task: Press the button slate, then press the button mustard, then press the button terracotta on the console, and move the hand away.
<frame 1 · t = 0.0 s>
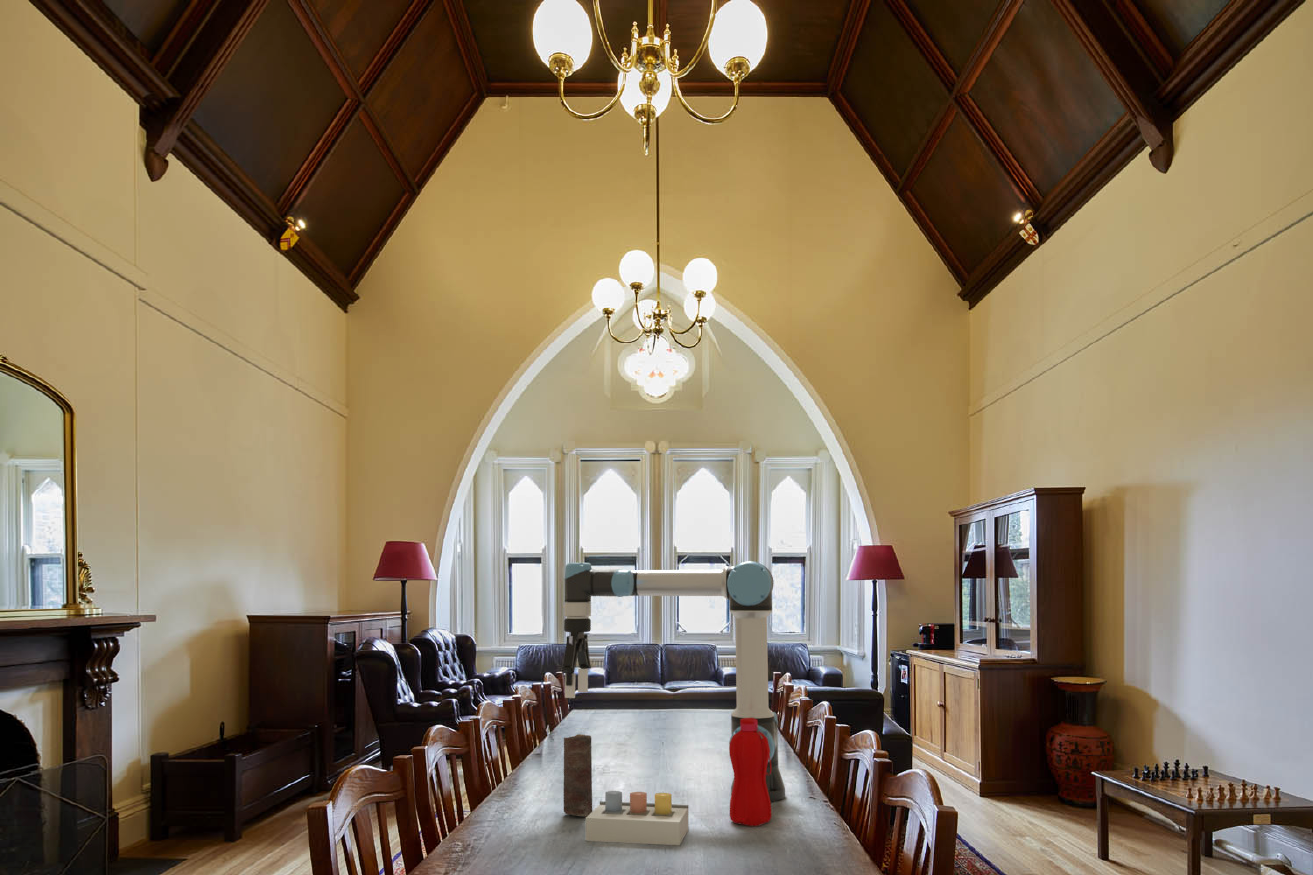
hand: (576, 694, 256), 28 cm above the table, tool pointing down, fingers open, 13 cm apart
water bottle: (753, 823, 228), on the table
button terracotta: (638, 802, 218), point 7 cm above the table, slide at 0.0 cm
brown rounded bar: (577, 816, 235), on the table
button slate: (613, 801, 219), point 7 cm above the table, slide at 0.0 cm
console: (638, 834, 217), on the table
button mustard: (663, 803, 217), point 7 cm above the table, slide at 0.0 cm
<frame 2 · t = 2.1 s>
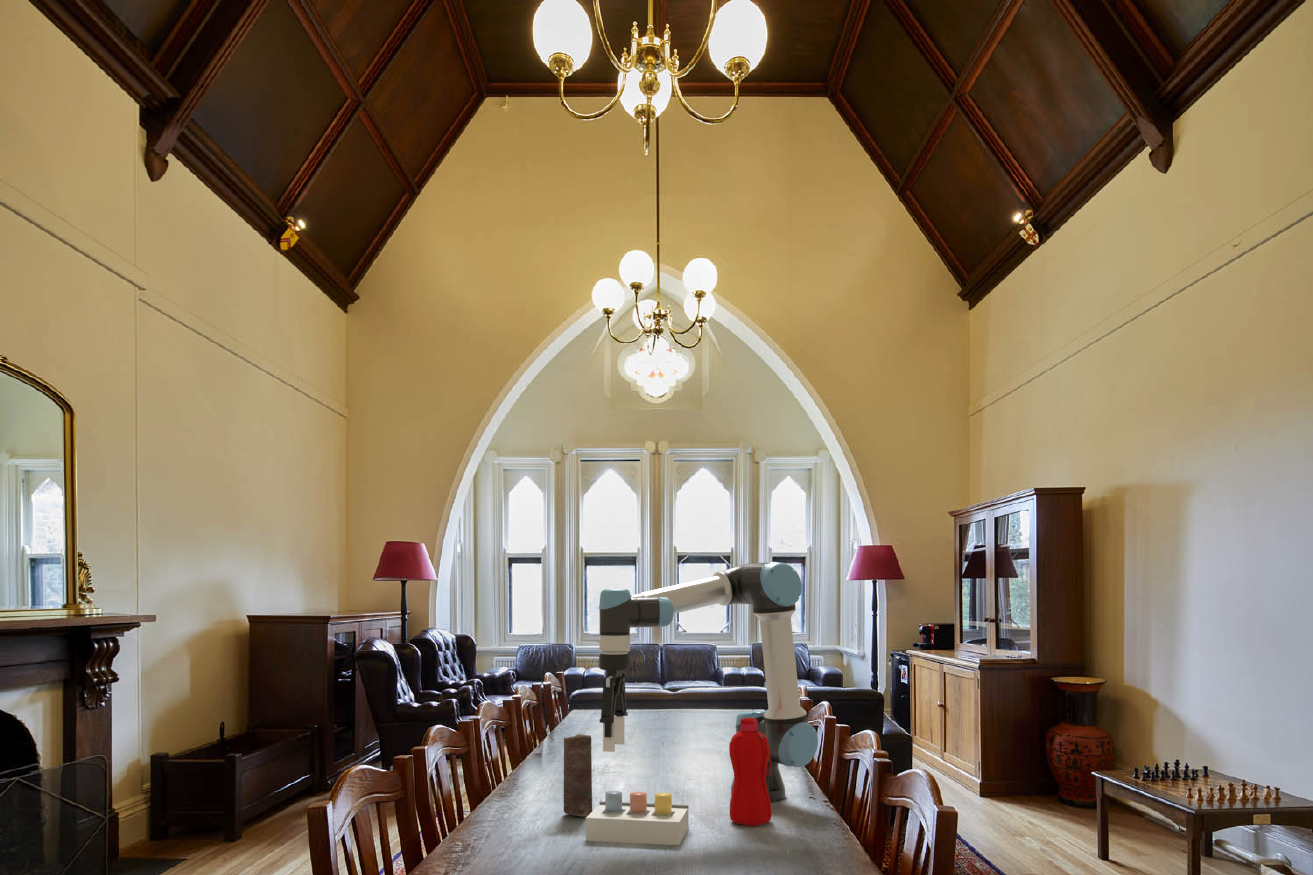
hand: (613, 747, 221), 20 cm above the table, tool pointing down, fingers open, 10 cm apart
nothing on the table moved.
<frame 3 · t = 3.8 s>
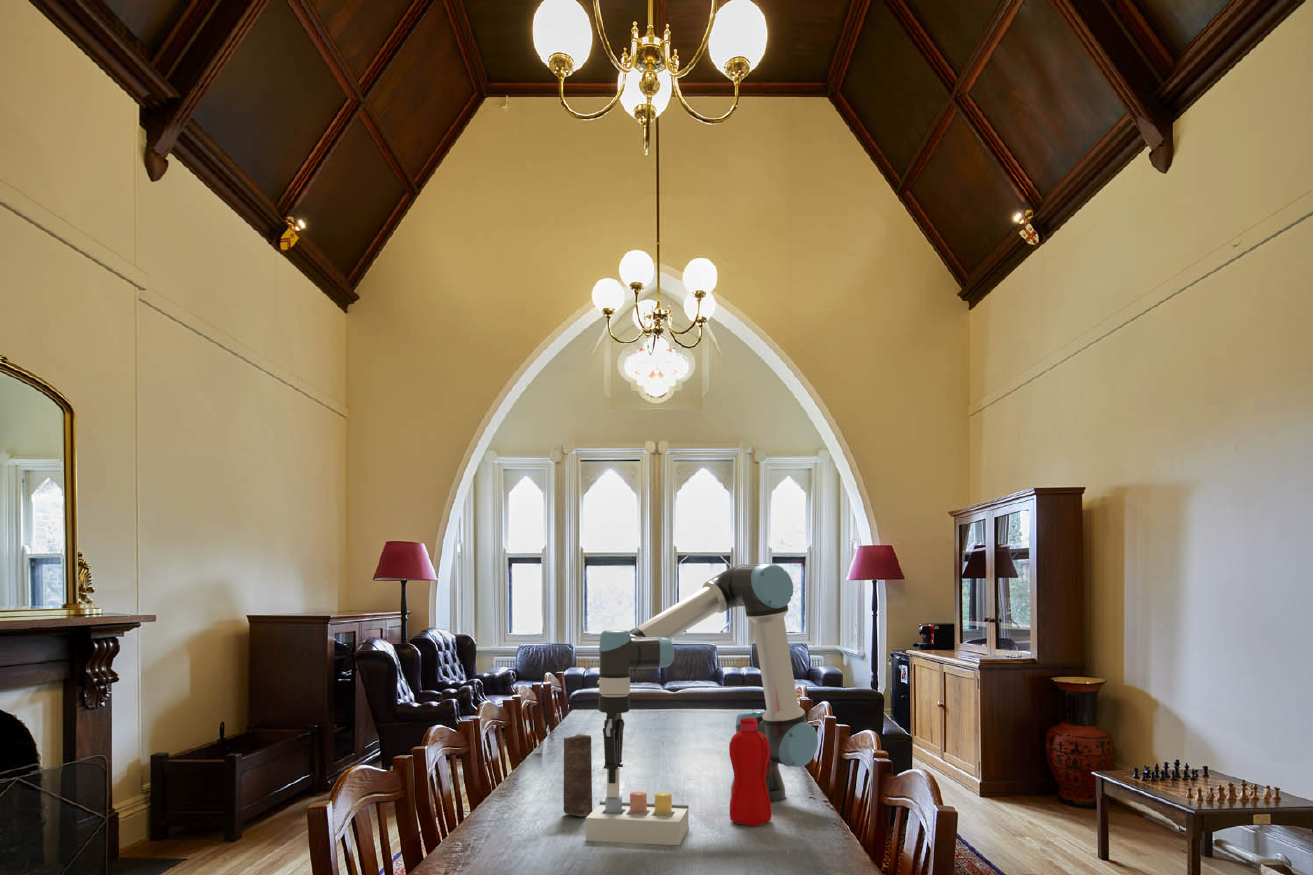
hand: (613, 796, 219), 8 cm above the table, tool pointing down, fingers closed
button slate: (613, 806, 219), point 6 cm above the table, slide at 1.2 cm, touching gripper
everything else where it was.
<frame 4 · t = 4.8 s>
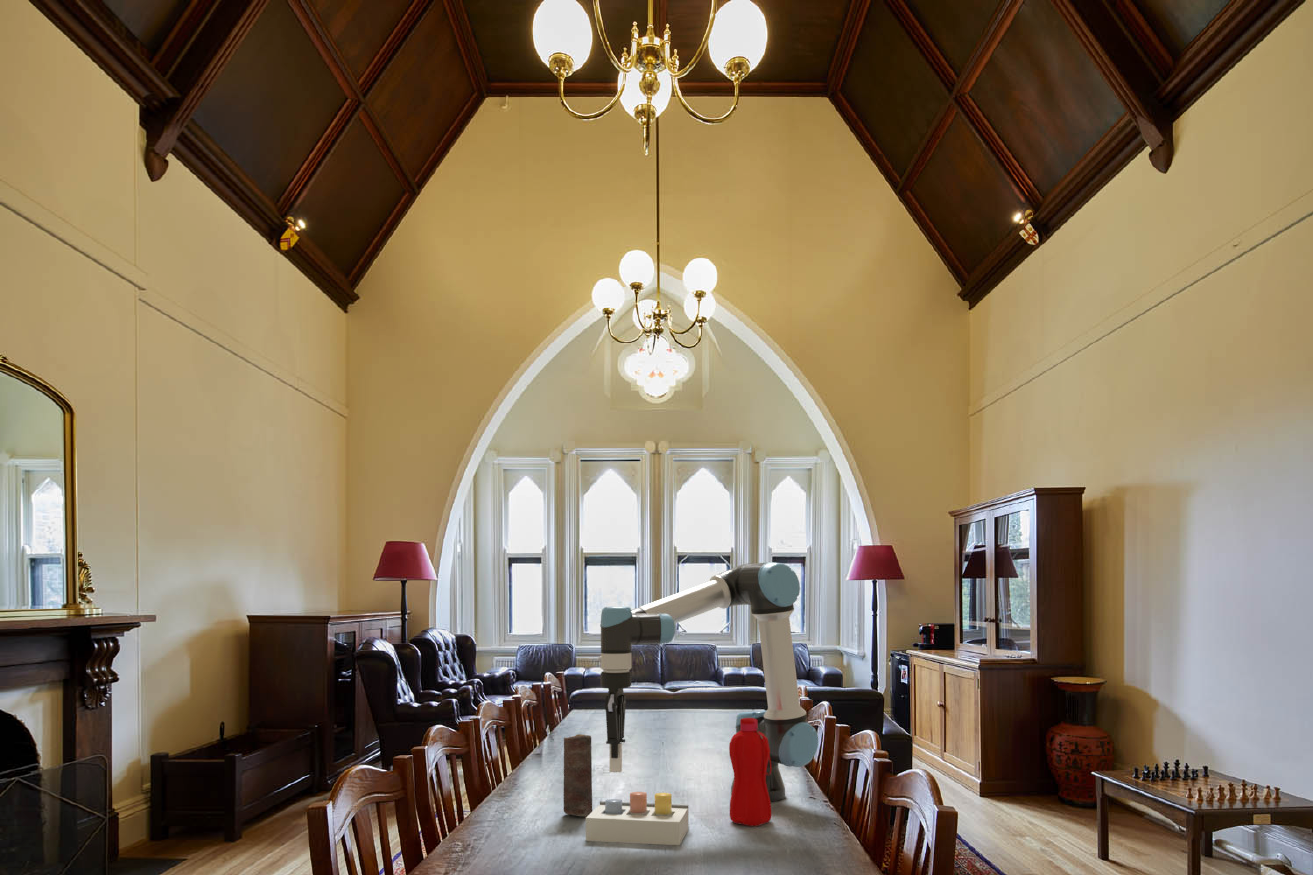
hand: (615, 771, 220), 14 cm above the table, tool pointing down, fingers closed
button slate: (613, 809, 219), point 5 cm above the table, slide at 1.9 cm
everything else where it was.
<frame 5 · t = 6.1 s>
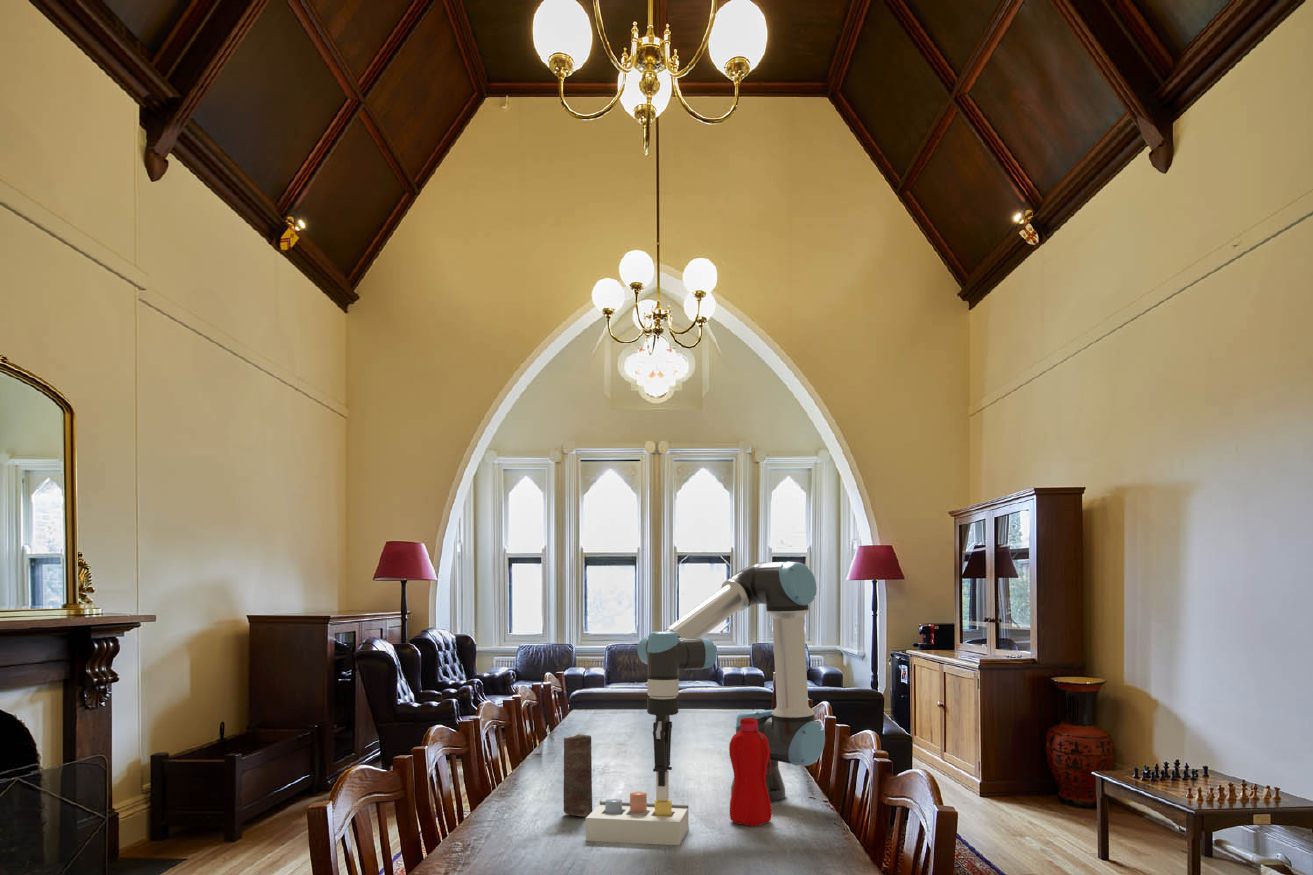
hand: (662, 799, 217), 8 cm above the table, tool pointing down, fingers closed
button mustard: (663, 809, 217), point 6 cm above the table, slide at 1.4 cm, touching gripper
everything else where it was.
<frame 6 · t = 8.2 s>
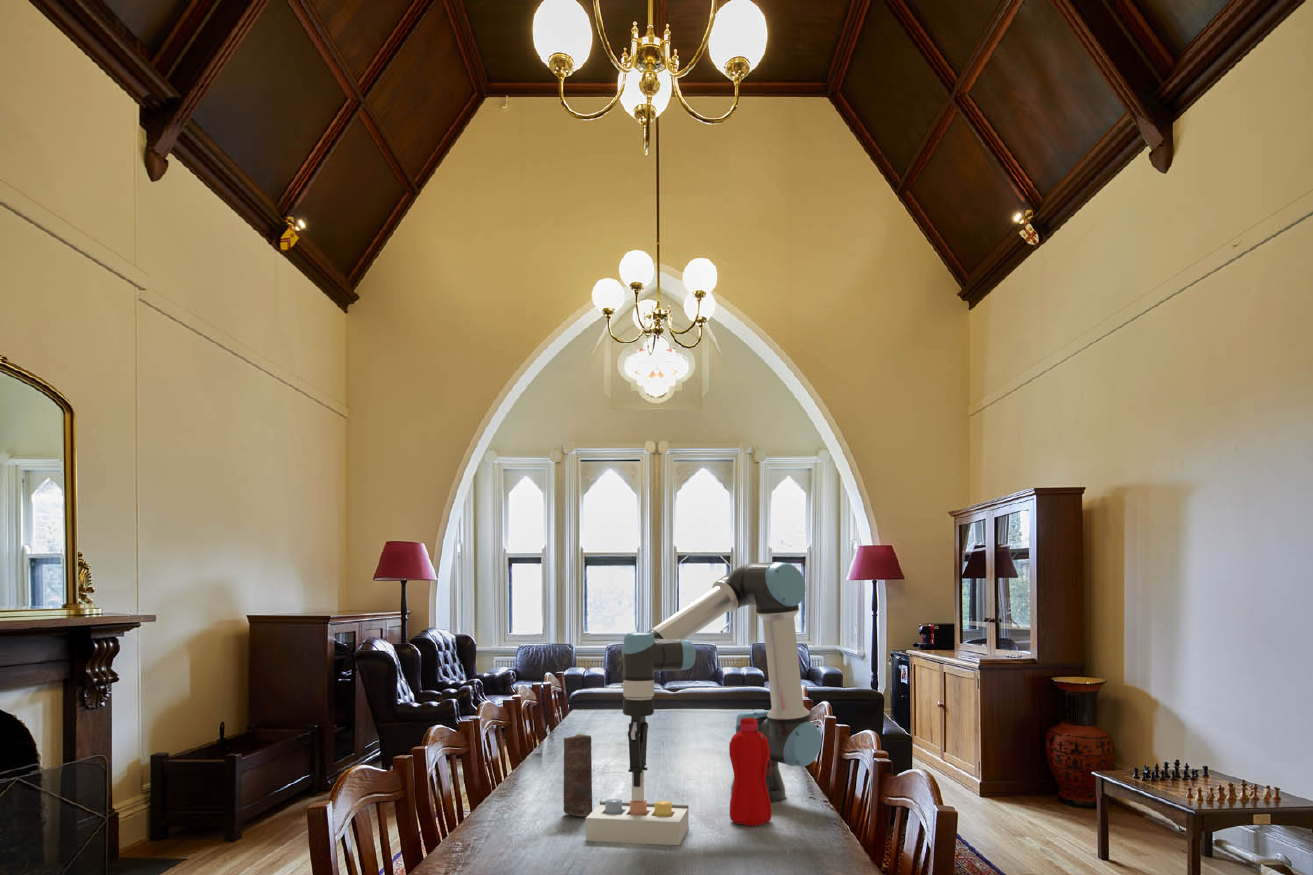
hand: (637, 799, 218), 8 cm above the table, tool pointing down, fingers closed
button terracotta: (638, 809, 218), point 6 cm above the table, slide at 1.7 cm
button mustard: (663, 811, 217), point 5 cm above the table, slide at 1.9 cm
everything else where it was.
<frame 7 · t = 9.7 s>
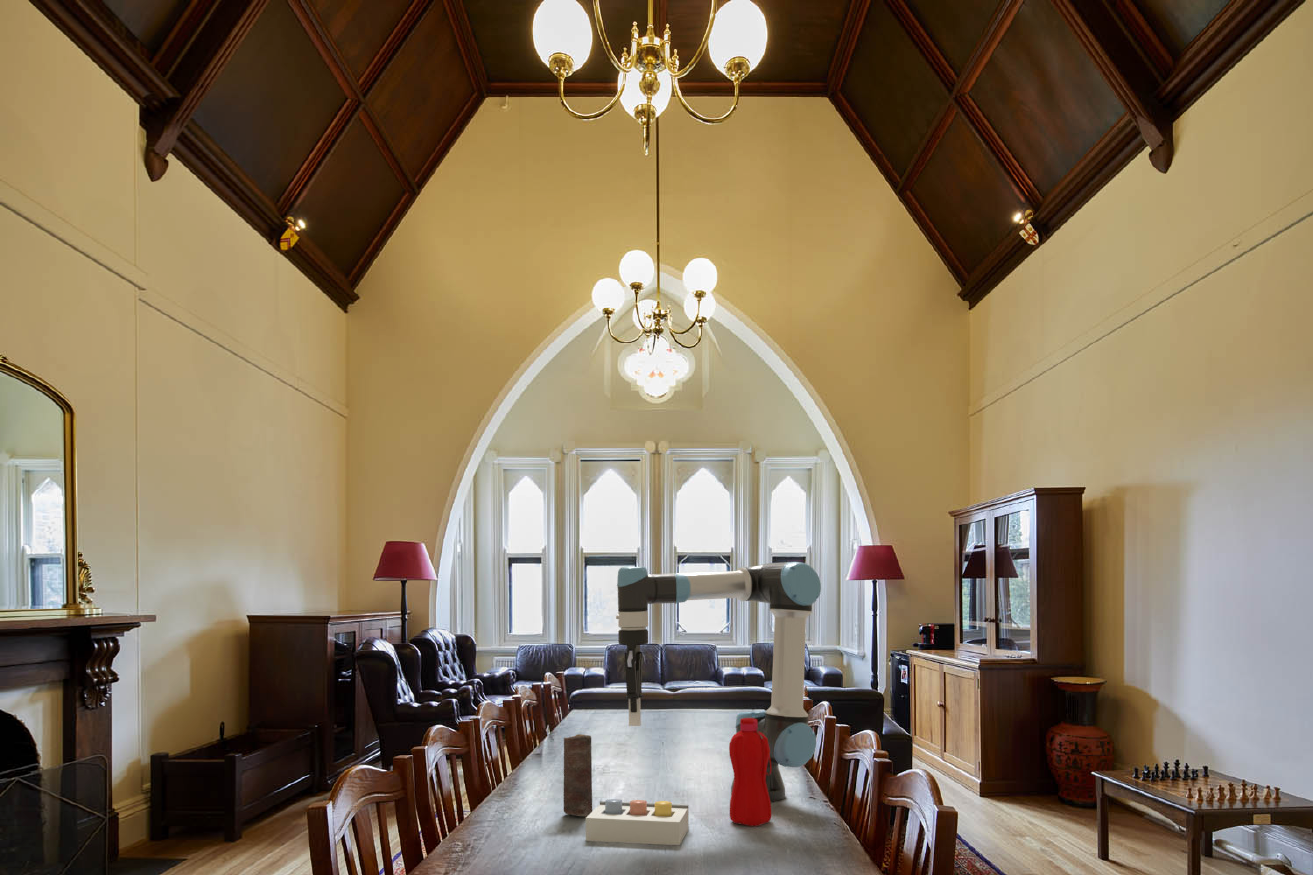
hand: (634, 725, 227), 24 cm above the table, tool pointing down, fingers closed
nothing on the table moved.
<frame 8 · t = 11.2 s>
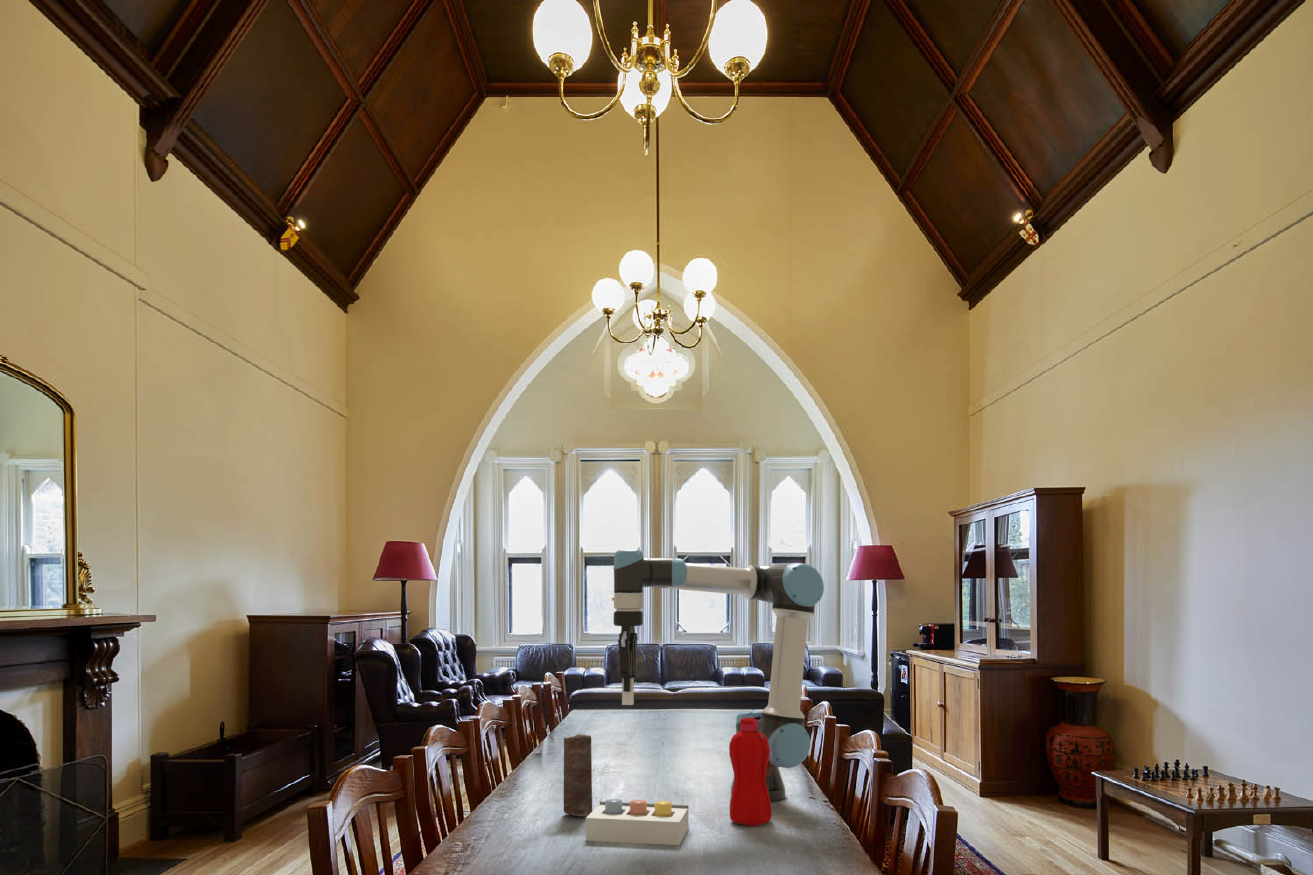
hand: (627, 704, 233), 28 cm above the table, tool pointing down, fingers closed
nothing on the table moved.
at the end: button slate slide at 1.9 cm; button mustard slide at 1.9 cm; button terracotta slide at 1.9 cm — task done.
